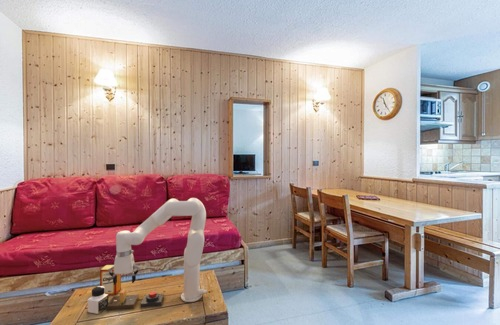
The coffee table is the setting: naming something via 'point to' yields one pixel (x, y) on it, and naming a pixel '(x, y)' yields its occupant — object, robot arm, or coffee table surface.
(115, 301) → the plate
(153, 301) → the box
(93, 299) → the medicine bottle
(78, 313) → the coffee table surface
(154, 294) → the door button
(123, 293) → the orange block red tip
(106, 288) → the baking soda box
